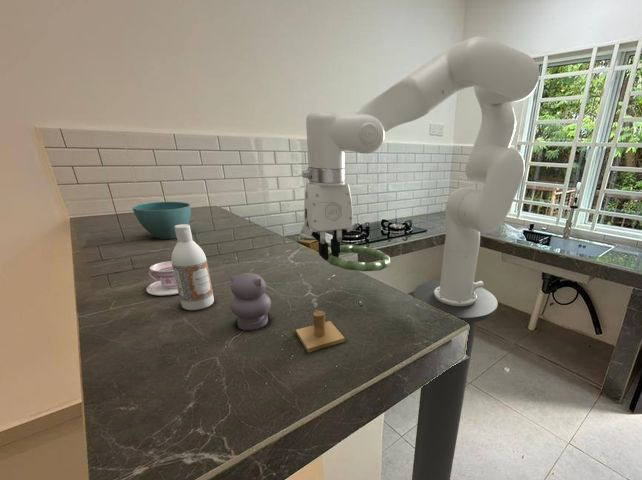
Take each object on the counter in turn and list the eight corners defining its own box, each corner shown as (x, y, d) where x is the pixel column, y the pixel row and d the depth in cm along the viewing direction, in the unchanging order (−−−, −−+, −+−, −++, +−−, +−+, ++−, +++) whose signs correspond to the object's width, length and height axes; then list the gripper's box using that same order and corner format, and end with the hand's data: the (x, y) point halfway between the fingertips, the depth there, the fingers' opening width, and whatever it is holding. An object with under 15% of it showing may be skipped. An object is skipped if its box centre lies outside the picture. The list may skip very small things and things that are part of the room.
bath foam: (194, 313, 76) (176, 231, 68) (175, 306, 79) (156, 226, 71) (220, 302, 82) (206, 225, 74) (202, 295, 84) (187, 220, 77)
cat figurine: (279, 316, 77) (274, 269, 72) (261, 334, 70) (254, 283, 65) (246, 311, 78) (240, 265, 74) (225, 328, 71) (216, 278, 66)
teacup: (201, 276, 96) (197, 256, 93) (197, 292, 86) (192, 271, 83) (151, 281, 91) (146, 260, 88) (141, 299, 81) (135, 277, 79)
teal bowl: (134, 235, 128) (126, 204, 123) (186, 228, 141) (180, 199, 136) (149, 246, 117) (140, 212, 112) (203, 237, 130) (197, 206, 125)
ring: (369, 250, 92) (370, 244, 91) (402, 270, 79) (403, 262, 79) (313, 251, 82) (313, 244, 82) (339, 274, 70) (340, 265, 69)
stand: (330, 324, 75) (329, 301, 73) (344, 341, 69) (344, 317, 67) (296, 333, 71) (293, 309, 69) (307, 352, 65) (306, 327, 62)
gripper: (295, 179, 62) (301, 268, 69) (368, 178, 70) (367, 257, 78) (284, 174, 68) (291, 257, 75) (353, 174, 76) (353, 248, 83)
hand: (329, 257), depth 76 cm, fingers closed on ring, 2 cm apart
